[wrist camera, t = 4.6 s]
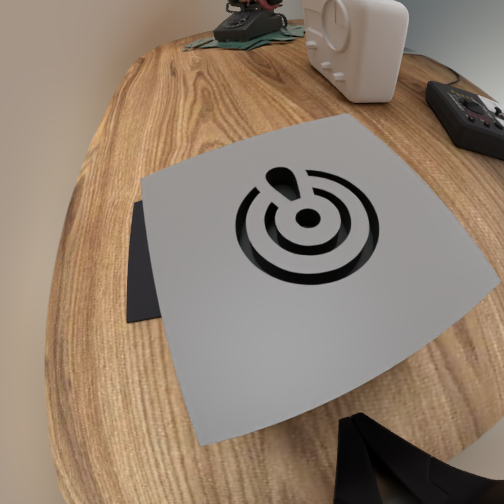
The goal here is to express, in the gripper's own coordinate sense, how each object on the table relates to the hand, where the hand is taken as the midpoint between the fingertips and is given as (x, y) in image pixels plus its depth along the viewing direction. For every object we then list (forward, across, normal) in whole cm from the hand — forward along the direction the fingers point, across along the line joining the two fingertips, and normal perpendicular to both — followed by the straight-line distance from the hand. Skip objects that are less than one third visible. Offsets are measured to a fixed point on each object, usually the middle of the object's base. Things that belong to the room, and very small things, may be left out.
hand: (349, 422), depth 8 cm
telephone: (+64, -13, -53) cm, 84 cm away
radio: (+33, -18, -22) cm, 43 cm away
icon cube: (+9, 0, 0) cm, 9 cm away
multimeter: (+21, -36, -11) cm, 43 cm away
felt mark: (+15, +10, -6) cm, 19 cm away
